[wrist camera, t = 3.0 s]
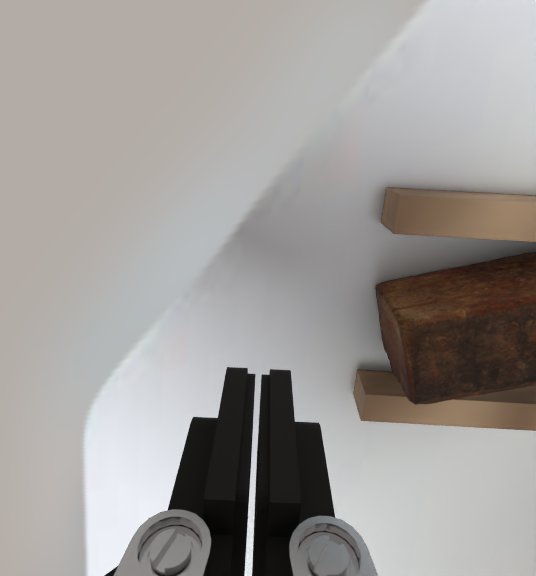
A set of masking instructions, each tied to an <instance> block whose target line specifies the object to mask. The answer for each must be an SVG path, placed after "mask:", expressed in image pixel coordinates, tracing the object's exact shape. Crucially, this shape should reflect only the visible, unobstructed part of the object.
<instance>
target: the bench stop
mask: <svg viewBox="0 0 536 576" xmlns="http://www.w3.org/2000/svg"><path fill="white" fill-rule="evenodd" d="M381 223H382V224H383V225H384V226H385V227H387V228H388V229H389V230H390V231H391V232H392V233H393V234H405V235H423V236H440V237H457V238H475V239H492V240H509V241H527V242H536V196H525V195H508V194H491V193H473V192H456V191H439V190H421V189H404V188H387V189H386V195H385V201H384V207H383V214H382V220H381ZM354 398H355V402H356V405H357V409H358V412H359V416H360V419H361V421H376V422H394V423H411V424H429V425H446V426H463V427H481V428H498V429H515V430H533V431H536V385H535V386H530V387H525V388H519V389H513V390H507V391H501V392H495V393H490V394H486V395H476V396H469V397H464V398H458V399H453V400H447V401H442V402H438V403H433V404H417V405H415V404H413V403H412V402H410V401H409V400H408V399H407V396H406V394H405V392H404V391H403V389H402V386H401V384H400V383H398V379H397V377H396V376H395V375H394V374H393V372H381V371H363V370H357V376H356V382H355V388H354Z"/></svg>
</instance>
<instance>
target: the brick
mask: <svg viewBox="0 0 536 576" xmlns="http://www.w3.org/2000/svg"><path fill="white" fill-rule="evenodd" d="M376 295H377V303H378V310H379V318H380V326H381V333H382V340H383V345H384V349H385V351H386V353H387V355H388V359H389V360H390V364H391V368H392V372H393V374H394V375H395V376H396V377H397V379H398V383H400V384H401V386H402V389H403V391H404V392H405V394H406V396H407V399H408V400H409V401H410V402H412V403H413V404H415V405H417V404H433V403H438V402H442V401H447V400H453V399H458V398H464V397H469V396H476V395H486V394H490V393H495V392H501V391H507V390H513V389H519V388H525V387H530V386H535V385H536V252H535V253H529V254H523V255H518V256H513V257H507V258H502V259H497V260H493V261H490V262H484V263H479V264H474V265H470V266H466V267H458V268H453V269H448V270H441V271H435V272H431V273H426V274H422V275H418V276H410V277H407V278H403V279H397V280H391V281H387V282H383V283H380V284H378V285H376Z"/></svg>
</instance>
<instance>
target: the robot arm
mask: <svg viewBox="0 0 536 576" xmlns="http://www.w3.org/2000/svg"><path fill="white" fill-rule="evenodd" d="M247 373H248V368H232V367H227V370H226V375H225V381H224V387H223V392H222V398H221V404H220V409H219V415H218V418H203V417H193V418H192V421H191V424H190V428H189V432H188V435H187V439H186V443H185V447H184V451H183V454H182V458H181V462H180V466H179V470H178V473H177V477H176V481H175V485H174V488H173V492H172V496H171V500H170V504H169V507H168V511H164V512H160V513H158V514H156V515H154V516H153V517H151V518H149V519H148V520H147V521H146V522H145V523H143V524H142V525H141V526H140V527H139V528H138V530H137V531H136V533H135V534H134V536H133V537H132V539H131V541H130V543H129V545H128V547H127V549H126V551H125V554H124V556H123V558H122V560H121V562H120V564H119V566H117V567H116V568H115V569H113V570H112V571H110V572H109V573H108V574H106V575H105V576H244V572H245V555H246V538H247V521H248V504H249V487H250V469H251V451H252V431H253V410H254V390H255V374H247ZM252 576H378V575H377V572H376V569H375V567H374V564H373V561H372V559H371V556H370V553H369V551H368V548H367V546H366V544H365V542H364V541H363V539H362V537H361V536H360V535H359V533H358V532H357V531H356V530H355V529H354V528H353V527H352V526H350V525H349V524H347V523H346V522H344V521H342V520H340V519H337V518H335V514H334V508H333V502H332V496H331V489H330V483H329V477H328V471H327V465H326V458H325V452H324V446H323V440H322V434H321V428H320V424H319V423H309V422H295V420H294V407H293V394H292V381H291V371H290V370H273V369H270V375H262V380H261V397H260V415H259V433H258V450H257V472H256V496H255V520H254V545H253V569H252Z"/></svg>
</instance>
